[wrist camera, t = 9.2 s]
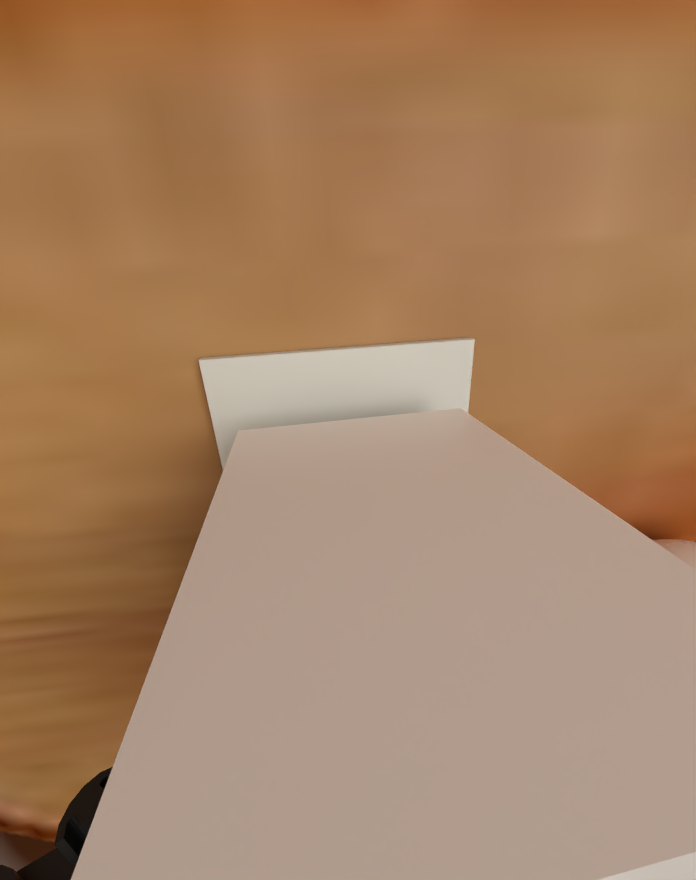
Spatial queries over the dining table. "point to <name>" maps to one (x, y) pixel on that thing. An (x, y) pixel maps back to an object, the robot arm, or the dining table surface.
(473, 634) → the white block
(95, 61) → the dining table surface
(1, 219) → the dining table surface
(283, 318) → the dining table surface
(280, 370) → the mat
